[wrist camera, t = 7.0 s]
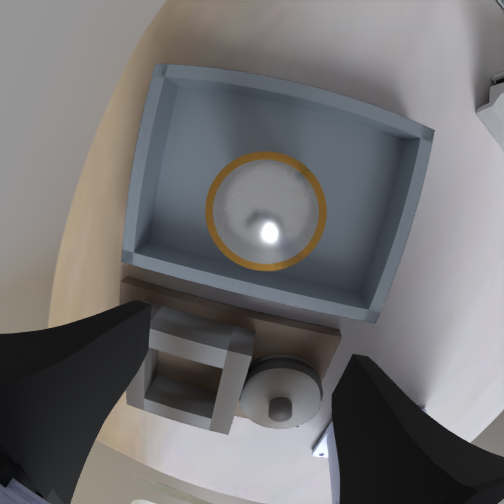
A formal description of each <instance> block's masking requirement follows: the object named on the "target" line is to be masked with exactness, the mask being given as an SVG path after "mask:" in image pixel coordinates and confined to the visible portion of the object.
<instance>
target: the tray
mask: <svg viewBox="0 0 504 504" xmlns="http://www.w3.org/2000/svg"><path fill="white" fill-rule="evenodd" d="M434 131H435V130H433V129H431V128H429V127H426V126H424V125H422V124H420V123H417V122H415V121H413V120H410V119H408V118H405V117H403V116H401V115H398V114H396V113H393V112H390V111H388V110H385V109H382V108H380V107H377V106H374V105H371V104H368V103H365V102H363V101H360V100H356V99H353V98H350V97H347V96H344V95H341V94H337V93H334V92H330V91H327V90H323V89H320V88H316V87H312V86H308V85H304V84H300V83H296V82H292V81H287V80H283V79H278V78H273V77H268V76H263V75H257V74H252V73H246V72H239V71H233V70H226V69H218V68H210V67H200V66H189V65H176V64H157V63H156V64H155V68H154V71H153V75H152V79H151V82H150V86H149V90H148V94H147V98H146V102H145V106H144V111H143V115H142V120H141V124H140V129H139V134H138V139H137V144H136V149H135V155H134V161H133V166H132V173H131V179H130V186H129V193H128V200H127V208H126V217H125V226H124V237H123V248H122V262H124V263H128V264H131V265H134V266H138V267H141V268H145V269H148V270H152V271H156V272H159V273H163V274H166V275H170V276H174V277H177V278H181V279H185V280H189V281H192V282H196V283H200V284H204V285H208V286H212V287H215V288H219V289H223V290H227V291H231V292H235V293H239V294H243V295H248V296H252V297H256V298H260V299H264V300H268V301H273V302H277V303H281V304H286V305H290V306H294V307H299V308H303V309H308V310H313V311H317V312H322V313H326V314H331V315H336V316H341V317H346V318H350V319H355V320H360V321H365V322H370V323H376V321H377V318H378V316H379V314H380V311H381V309H382V307H383V304H384V302H385V299H386V297H387V294H388V292H389V289H390V287H391V284H392V281H393V279H394V276H395V273H396V271H397V268H398V265H399V262H400V259H401V256H402V254H403V251H404V248H405V245H406V242H407V238H408V235H409V232H410V229H411V226H412V222H413V219H414V216H415V212H416V209H417V205H418V201H419V198H420V194H421V190H422V186H423V182H424V178H425V174H426V170H427V165H428V161H429V156H430V152H431V147H432V142H433V136H434ZM262 151H268V152H277V153H281V154H285V155H288V156H290V157H292V158H294V159H296V160H298V161H299V162H301V163H302V164H304V165H305V166H306V167H307V168H308V169H309V170H310V171H311V172H312V173H313V174H314V176H315V177H316V179H317V180H318V182H319V183H320V185H321V187H322V190H323V192H324V196H325V200H326V205H327V218H326V224H325V229H324V231H323V234H322V236H321V238H320V240H319V242H318V244H317V245H316V247H315V248H314V249H313V250H312V251H311V253H310V254H309V255H308V256H306V257H305V258H304V259H303V260H301V261H300V262H298V263H296V264H294V265H292V266H290V267H288V268H284V269H281V270H276V271H257V270H252V269H249V268H246V267H243V266H241V265H239V264H237V263H235V262H233V261H232V260H230V259H229V258H228V257H227V256H225V255H224V254H223V253H222V252H221V251H220V249H219V248H218V247H217V246H216V244H215V243H214V241H213V239H212V237H211V235H210V233H209V230H208V227H207V223H206V216H205V205H206V198H207V195H208V191H209V189H210V186H211V184H212V182H213V181H214V179H215V177H216V176H217V175H218V174H219V172H220V171H221V170H222V169H223V168H224V167H225V166H226V165H228V164H229V163H230V162H232V161H233V160H235V159H237V158H239V157H241V156H243V155H246V154H249V153H254V152H262Z"/></svg>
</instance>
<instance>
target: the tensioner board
mask: <svg viewBox="0 0 504 504" xmlns="http://www.w3.org/2000/svg"><path fill="white" fill-rule="evenodd" d="M134 300H139V301H142V302H145V303H148V304H151V305H152V309H151V321H150V335H149V350H148V352H147V355H146V357H145V359H144V361H143V363H142V365H141V367H140V369H139V371H138V372H137V374H136V375H135V377H134V378H133V380H132V381H131V383H130V384H129V386H128V387H127V388H126V397H127V404H128V405H131V406H133V407H136V408H139V409H142V410H144V411H147V412H150V413H153V414H156V415H159V416H162V417H165V418H168V419H171V420H175V421H178V422H181V423H185V424H188V425H192V426H195V427H199V428H203V429H206V430H210V431H214V432H219V433H223V434H227V435H228V434H229V431H230V428H231V424H232V421H233V418H234V416H238V417H243V418H248V419H250V420H251V421H253V422H254V423H256V424H258V425H261V426H264V427H268V428H274V429H286V428H292V427H299V425H302V424H304V423H306V422H307V421H309V420H310V419H312V418H313V417H314V416H315V415H316V413H317V412H318V410H319V408H320V404H321V401H322V397H323V391H322V384H321V382H322V380H323V378H324V375H325V373H326V371H327V369H328V367H329V365H330V363H331V360H332V358H333V356H334V354H335V351H336V349H337V347H338V344H339V342H340V340H341V337H342V336H341V333H340V330H338V329H333V328H328V327H323V326H318V325H314V324H309V323H304V322H299V321H295V320H290V319H286V318H281V317H277V316H272V315H268V314H264V313H260V312H255V311H251V310H247V309H243V308H239V307H235V306H231V305H227V304H223V303H219V302H215V301H211V300H207V299H204V298H200V297H196V296H192V295H189V294H185V293H181V292H178V291H174V290H171V289H167V288H163V287H160V286H157V285H153V284H150V283H146V282H143V281H139V280H136V279H133V278H130V277H126V278H124V279H123V280H122V281H121V285H120V305H122V304H125V303H128V302H131V301H134Z"/></svg>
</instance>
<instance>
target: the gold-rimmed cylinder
mask: <svg viewBox="0 0 504 504" xmlns="http://www.w3.org/2000/svg"><path fill="white" fill-rule="evenodd" d="M205 216H206V223H207V227H208V230H209V233H210V235H211V237H212V239H213V241H214V243H215V244H216V246H217V247H218V248H219V249H220V251H221V252H222V253H223V254H224V255H225V256H227V257H228V258H229V259H230V260H232V261H233V262H235V263H237V264H239V265H241V266H243V267H246V268H249V269H252V270H257V271H276V270H281V269H284V268H288V267H290V266H292V265H294V264H296V263H298V262H300V261H301V260H303V259H304V258H305V257H306V256H308V255H309V254H310V253H311V251H312V250H313V249H314V248H315V247H316V245H317V244H318V242H319V240H320V238H321V236H322V234H323V231H324V229H325V224H326V218H327V205H326V200H325V196H324V192H323V190H322V187H321V185H320V183H319V182H318V180H317V179H316V177H315V176H314V174H313V173H312V172H311V171H310V170H309V169H308V168H307V167H306V166H305V165H304V164H302V163H301V162H299V161H298V160H296V159H294V158H292V157H290V156H288V155H285V154H281V153H277V152H268V151H262V152H254V153H249V154H246V155H243V156H241V157H239V158H237V159H235V160H233V161H232V162H230V163H229V164H228V165H226V166H225V167H224V168H223V169H222V170H221V171H220V172H219V174H218V175H217V176H216V177H215V179H214V181H213V182H212V184H211V186H210V189H209V191H208V195H207V198H206V205H205Z"/></svg>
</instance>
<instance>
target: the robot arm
mask: <svg viewBox="0 0 504 504" xmlns="http://www.w3.org/2000/svg"><path fill="white" fill-rule="evenodd" d="M151 309H152V305H151V304H148V303H145V302H142V301H139V300H134V301H131V302H128V303H125V304H122V305H120V306H117V307H115V308H112V309H110V310H107V311H104V312H102V313H99V314H96V315H94V316H91V317H88V318H85V319H82V320H78V321H75V322H72V323H69V324H66V325H62V326H58V327H53V328H49V329H44V330H39V331H30V332H22V333H13V334H12V333H11V334H0V504H70V503H71V499H72V497H73V493H74V491H75V488H76V485H77V482H78V479H79V477H80V474H81V471H82V469H83V466H84V464H85V461H86V459H87V457H88V454H89V452H90V450H91V448H92V446H93V443H94V441H95V439H96V437H97V435H98V433H99V431H100V429H101V427H102V425H103V423H104V421H105V420H106V418H107V416H108V415H109V413H110V412H111V410H112V409H113V407H114V406H115V404H116V403H117V401H118V400H119V399H120V397H121V396H122V394H123V393H124V391H125V390H126V388H127V387H128V386H129V384H130V383H131V381H132V380H133V378H134V377H135V375H136V374H137V372H138V371H139V369H140V367H141V365H142V363H143V361H144V359H145V357H146V355H147V352H148V350H149V335H150V321H151ZM426 413H427V412H426V410H425V409H421V408H419V407H418V406H417V405H416V404H415V403H414V402H413V401H412V400H411V399H410V398H409V397H408V396H407V395H406V394H405V393H404V392H403V391H402V390H401V389H400V388H399V387H398V386H397V385H396V384H395V383H394V382H393V381H392V380H391V379H390V378H389V377H388V376H387V375H386V374H385V373H384V372H383V370H382V369H381V368H380V367H379V366H378V365H377V364H376V363H375V362H374V361H372V360H371V359H370V358H369V357H368V356H362V355H356V354H352V356H351V359H350V361H349V363H348V365H347V367H346V369H345V371H344V373H343V375H342V377H341V379H340V380H339V382H338V384H337V386H336V388H335V390H334V392H333V394H332V421H331V423H330V425H329V426H328V428H327V430H326V431H325V433H324V434H323V436H322V437H321V439H320V440H319V442H318V444H317V445H316V447H315V448H314V450H313V451H312V455H313V456H316V457H328V459H329V469H330V480H331V491H332V504H498V503H499V502H500V501H501V500H503V499H504V457H502V456H499V455H496V454H493V453H490V452H488V451H486V450H483V449H481V448H479V447H477V446H475V445H473V444H471V443H469V442H467V441H465V440H463V439H462V438H460V437H459V436H457V435H455V434H454V433H452V432H450V431H449V430H447V429H446V428H445V427H443V426H442V425H440V424H439V423H438V422H437V421H435V420H434V419H433V418H431V417H430V416H429V415H428V414H426Z"/></svg>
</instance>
